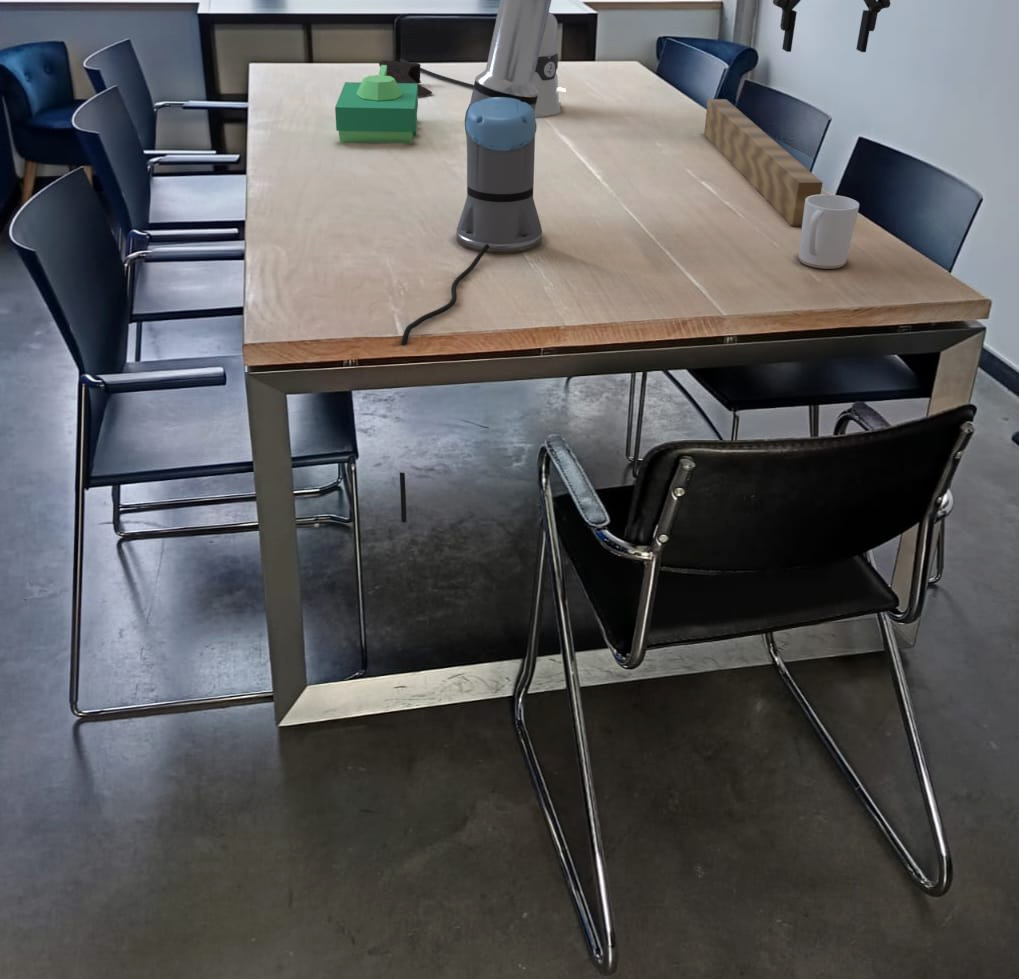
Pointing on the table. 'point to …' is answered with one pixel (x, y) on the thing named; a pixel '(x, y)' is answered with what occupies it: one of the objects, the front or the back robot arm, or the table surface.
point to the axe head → (405, 74)
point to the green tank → (377, 110)
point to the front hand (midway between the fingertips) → (823, 50)
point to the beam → (761, 160)
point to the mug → (827, 230)
